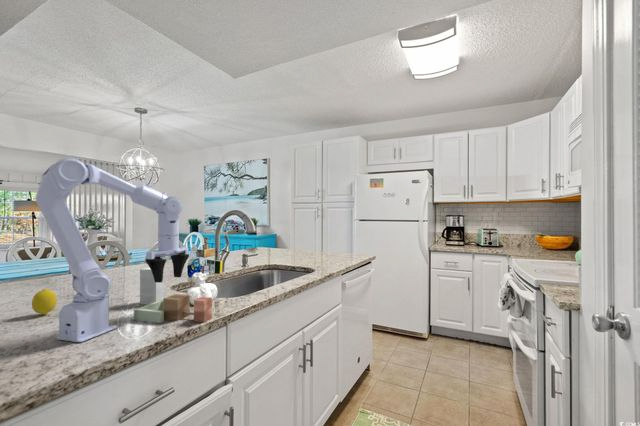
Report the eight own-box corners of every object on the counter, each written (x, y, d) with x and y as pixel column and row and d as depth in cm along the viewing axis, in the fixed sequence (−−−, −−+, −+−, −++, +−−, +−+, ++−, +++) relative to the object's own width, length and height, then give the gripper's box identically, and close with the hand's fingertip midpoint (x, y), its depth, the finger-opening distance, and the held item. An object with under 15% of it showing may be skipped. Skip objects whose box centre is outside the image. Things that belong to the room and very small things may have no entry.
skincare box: (164, 301, 102) (164, 267, 102) (155, 305, 97) (156, 269, 97) (147, 300, 102) (148, 267, 102) (139, 304, 98) (139, 269, 98)
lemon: (41, 318, 85) (41, 291, 85) (26, 317, 86) (26, 290, 86) (61, 312, 90) (61, 287, 90) (47, 311, 91) (47, 286, 91)
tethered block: (202, 323, 80) (202, 301, 80) (163, 319, 83) (163, 298, 84) (213, 317, 85) (213, 296, 85) (175, 313, 88) (175, 294, 88)
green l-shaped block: (160, 322, 81) (160, 312, 81) (134, 320, 83) (134, 309, 83) (186, 311, 90) (186, 301, 90) (161, 309, 93) (161, 299, 93)
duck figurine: (214, 303, 106) (202, 277, 109) (226, 293, 103) (213, 266, 106) (185, 313, 95) (172, 284, 99) (197, 301, 92) (183, 272, 96)
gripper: (160, 237, 81) (160, 285, 81) (195, 234, 95) (195, 275, 95) (140, 236, 83) (140, 284, 83) (177, 234, 97) (177, 274, 97)
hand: (168, 279), depth 89 cm, fingers open, 7 cm apart
